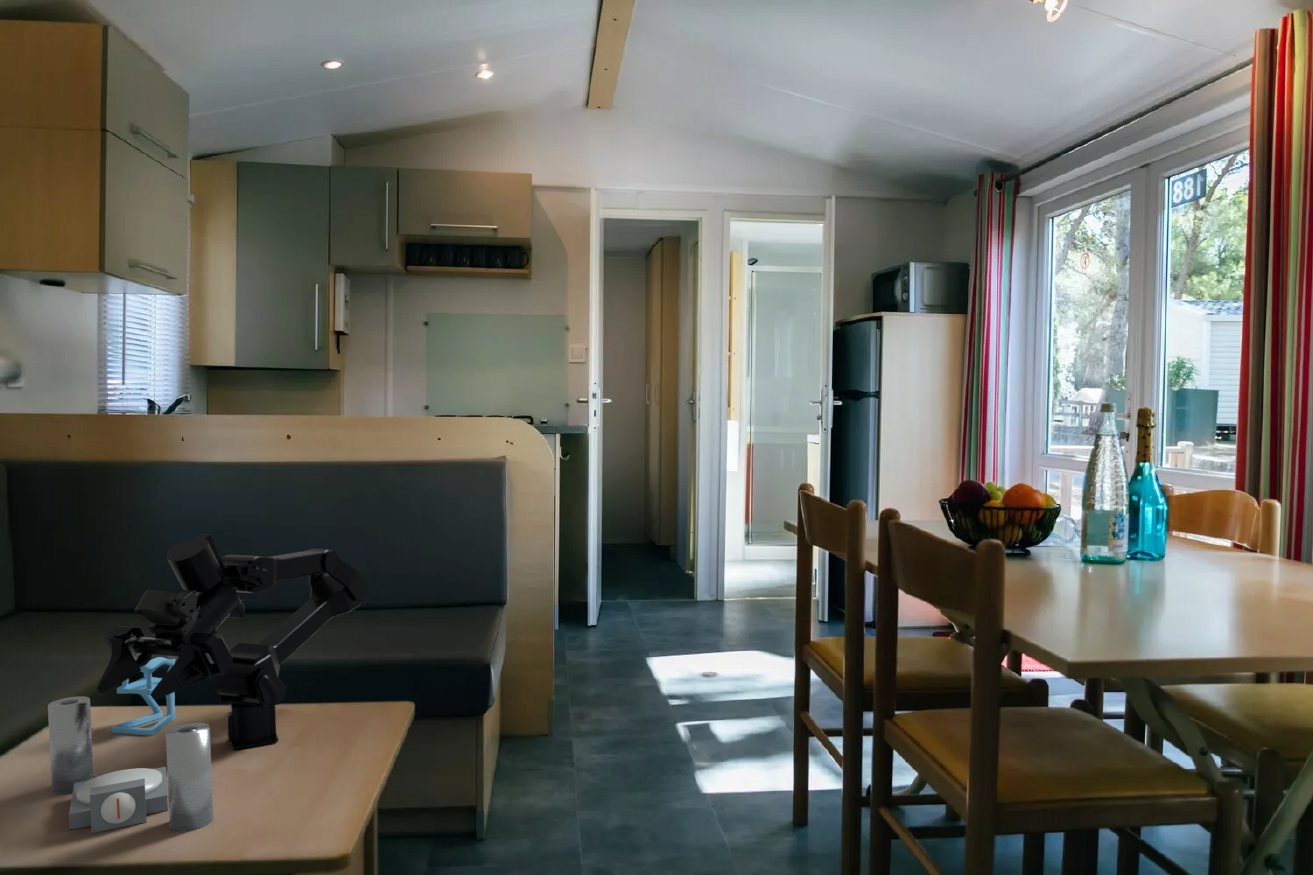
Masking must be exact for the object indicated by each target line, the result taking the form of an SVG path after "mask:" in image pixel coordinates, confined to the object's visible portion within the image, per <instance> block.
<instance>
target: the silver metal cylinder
mask: <svg viewBox="0 0 1313 875" xmlns="http://www.w3.org/2000/svg"><path fill="white" fill-rule="evenodd" d="M165 748H166V749H165V750H166V765H167V766H166V767H167V768H166V776H167V799H168V816H169V817H168V818H169V829H170V830H172V831H174V832H189V831H194V830H195V831H196V830H198V829H202V828H203V827H204V828H205V827H206V826H208V825H209V824H211V823H212V822H213V820H214V803H213V777H212V775H213V774H212V755H211V754H212V752H211V728H210V724H208V723H205V722H191V723H183V724H180V725H179V724H178V725H176V726H174V727H171V728H169V729H168V730H166V731H165Z"/></svg>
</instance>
